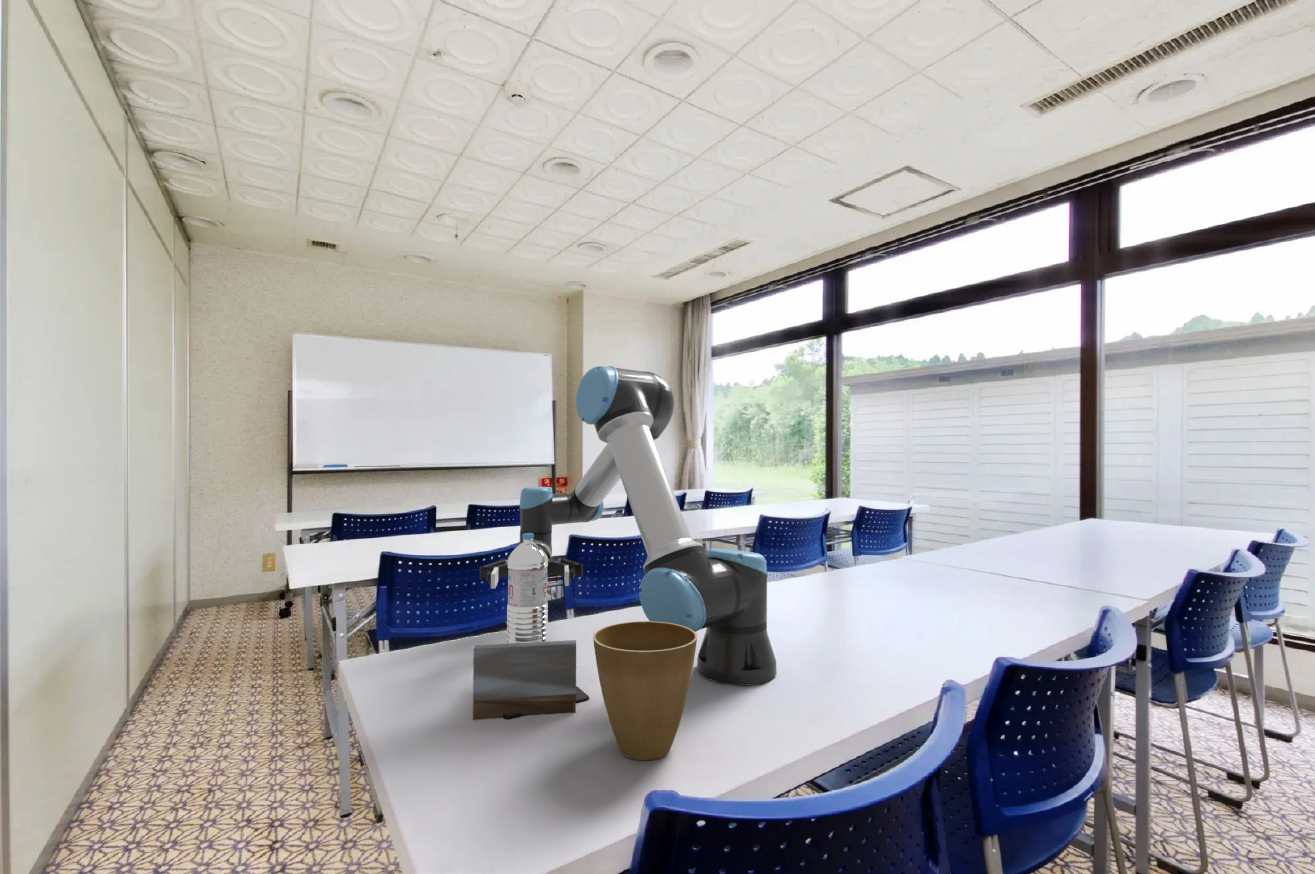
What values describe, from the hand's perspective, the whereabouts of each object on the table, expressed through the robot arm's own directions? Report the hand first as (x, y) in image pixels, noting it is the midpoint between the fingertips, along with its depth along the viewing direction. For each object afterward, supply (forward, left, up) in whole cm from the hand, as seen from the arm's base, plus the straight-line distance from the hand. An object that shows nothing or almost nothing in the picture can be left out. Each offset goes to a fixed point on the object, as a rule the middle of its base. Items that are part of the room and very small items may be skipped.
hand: (530, 580), depth 110 cm
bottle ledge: (-6, +7, -18) cm, 20 cm away
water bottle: (-6, +7, -15) cm, 18 cm away
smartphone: (-9, +7, -19) cm, 22 cm away
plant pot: (-32, +11, -18) cm, 39 cm away
